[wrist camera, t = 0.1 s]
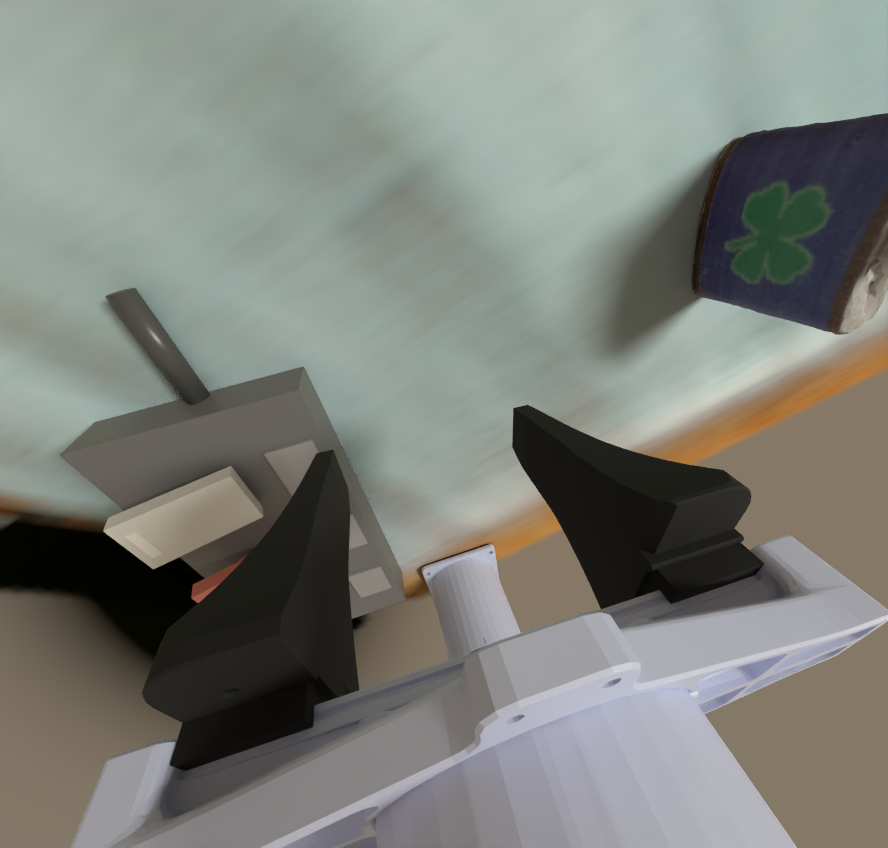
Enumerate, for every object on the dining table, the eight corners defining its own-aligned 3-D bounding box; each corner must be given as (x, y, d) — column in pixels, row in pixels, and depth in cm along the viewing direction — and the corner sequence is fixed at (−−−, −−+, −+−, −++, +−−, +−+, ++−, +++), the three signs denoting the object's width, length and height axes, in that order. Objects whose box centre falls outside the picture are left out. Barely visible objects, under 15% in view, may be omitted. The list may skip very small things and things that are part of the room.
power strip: (401, 571, 35) (406, 602, 32) (285, 610, 33) (281, 645, 31) (252, 260, 17) (236, 272, 14) (-9, 320, 15) (-78, 346, 13)
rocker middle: (307, 558, 26) (310, 576, 24) (224, 602, 24) (224, 623, 23) (285, 531, 24) (288, 549, 22) (193, 577, 22) (191, 599, 21)
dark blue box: (718, 289, 25) (918, 340, 16) (682, 302, 24) (865, 360, 16) (759, 127, 19) (1098, 74, 11) (713, 142, 19) (1019, 99, 10)
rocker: (261, 500, 22) (263, 517, 20) (158, 547, 20) (152, 570, 19) (230, 459, 19) (230, 476, 18) (112, 509, 18) (102, 532, 16)
